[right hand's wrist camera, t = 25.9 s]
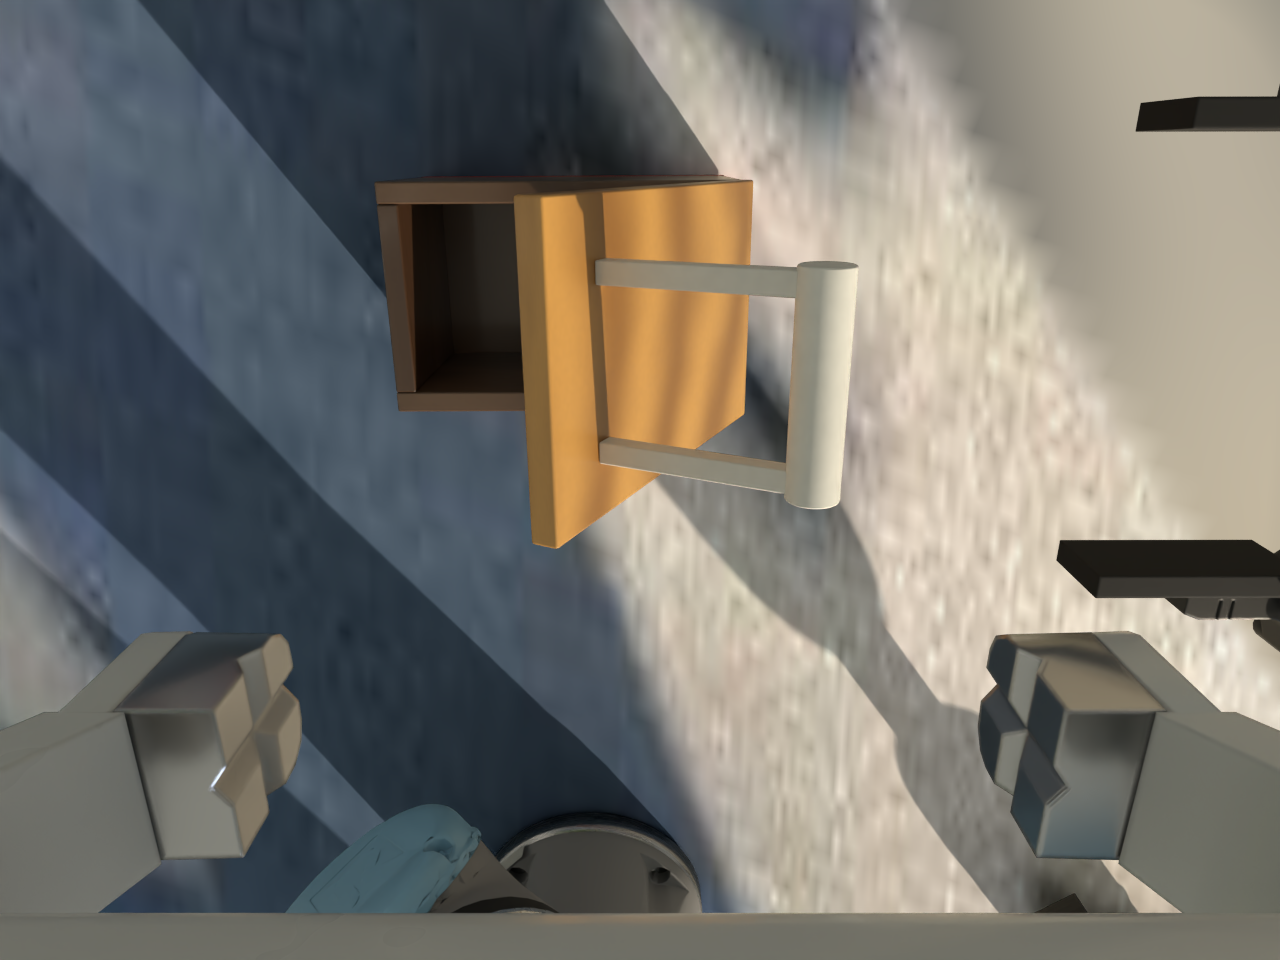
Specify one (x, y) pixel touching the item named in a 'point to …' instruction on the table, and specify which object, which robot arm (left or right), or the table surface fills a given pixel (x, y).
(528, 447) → the lid
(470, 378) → the chest
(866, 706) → the table surface
